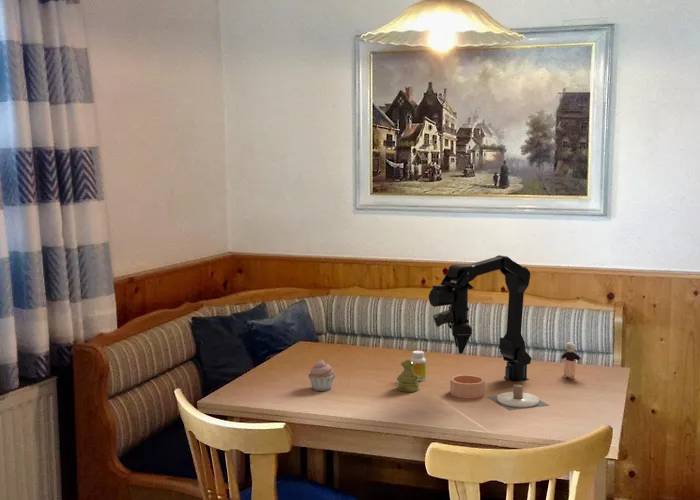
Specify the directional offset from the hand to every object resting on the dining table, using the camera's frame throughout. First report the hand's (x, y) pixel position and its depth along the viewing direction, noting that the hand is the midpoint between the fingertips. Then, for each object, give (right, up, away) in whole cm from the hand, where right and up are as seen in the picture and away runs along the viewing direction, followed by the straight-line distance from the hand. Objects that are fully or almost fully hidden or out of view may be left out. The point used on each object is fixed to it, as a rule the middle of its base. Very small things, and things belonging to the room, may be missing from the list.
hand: (459, 349), depth 258 cm
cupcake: (-45, -14, +4) cm, 48 cm away
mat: (+17, -15, -12) cm, 25 cm away
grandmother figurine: (+41, -12, +16) cm, 46 cm away
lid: (+17, -15, -12) cm, 25 cm away
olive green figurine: (-17, -14, +3) cm, 22 cm away
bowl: (+2, -14, -3) cm, 15 cm away
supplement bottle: (-12, -12, +15) cm, 23 cm away
